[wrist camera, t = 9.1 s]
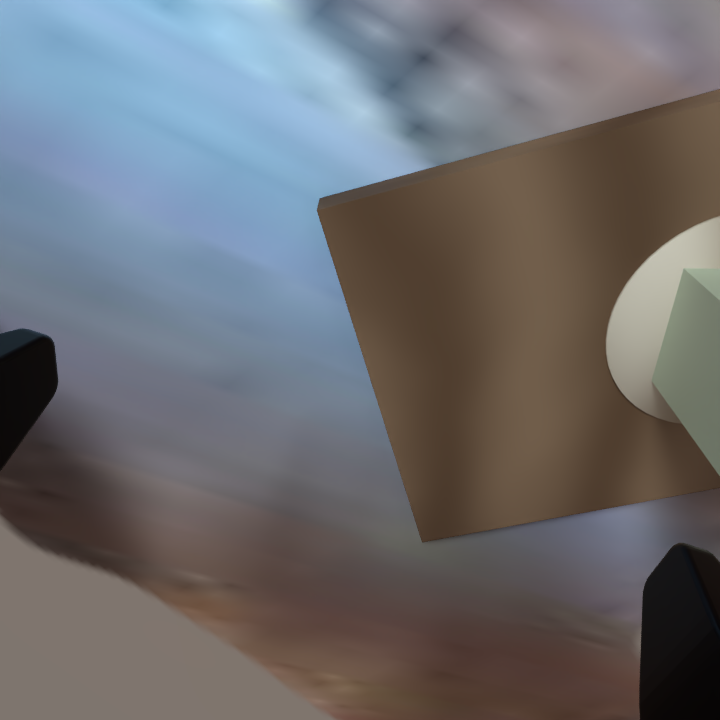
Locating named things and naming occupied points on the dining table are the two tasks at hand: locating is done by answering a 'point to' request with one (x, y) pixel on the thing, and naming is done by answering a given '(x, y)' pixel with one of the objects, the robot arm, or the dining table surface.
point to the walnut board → (534, 316)
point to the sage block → (694, 359)
